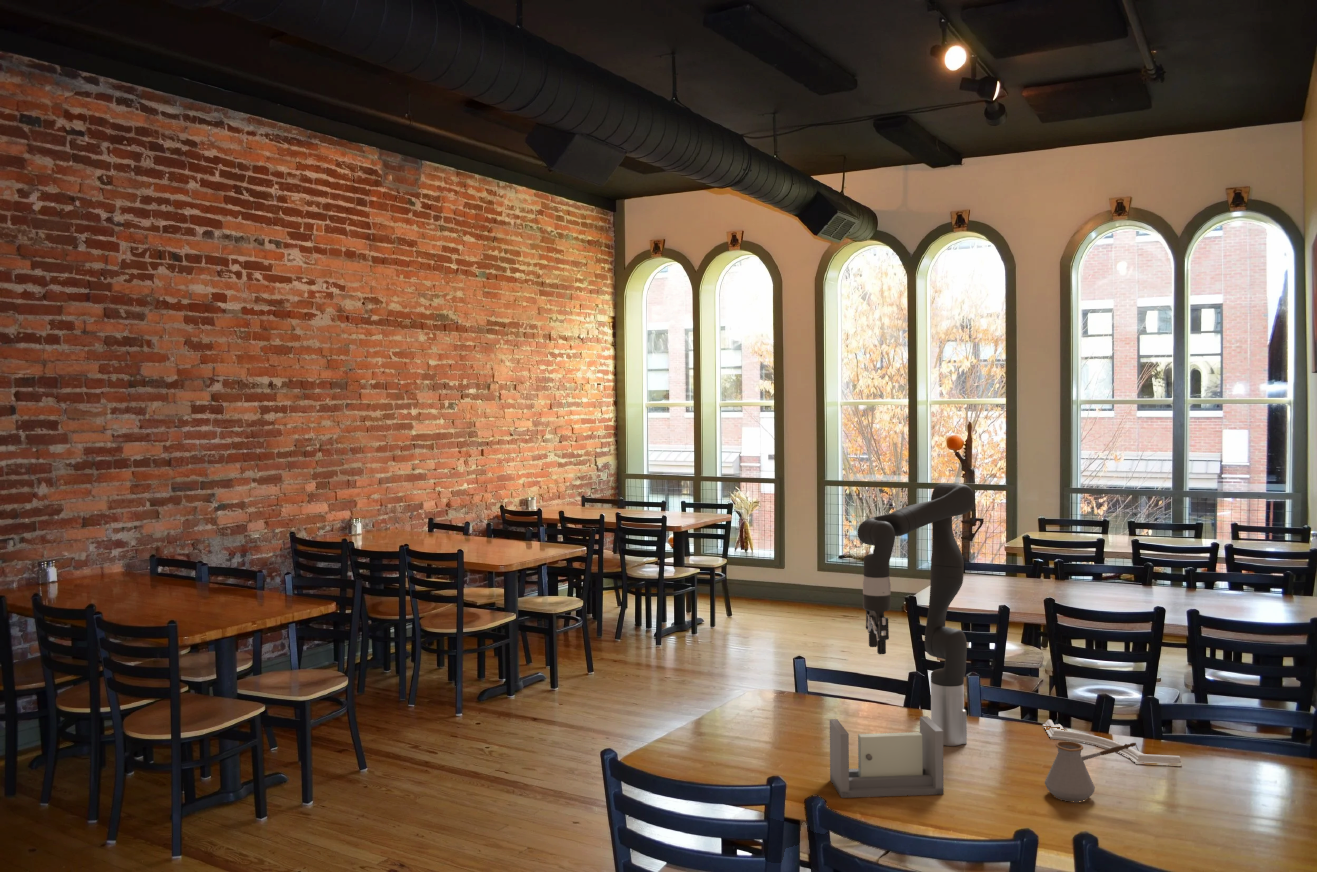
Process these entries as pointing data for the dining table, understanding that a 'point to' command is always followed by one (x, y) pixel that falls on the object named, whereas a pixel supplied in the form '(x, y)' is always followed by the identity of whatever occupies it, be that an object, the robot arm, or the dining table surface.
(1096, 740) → the molding
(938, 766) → the grey rack
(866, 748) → the door panel
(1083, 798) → the coffee pot
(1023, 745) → the dining table surface
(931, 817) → the dining table surface
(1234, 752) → the dining table surface
